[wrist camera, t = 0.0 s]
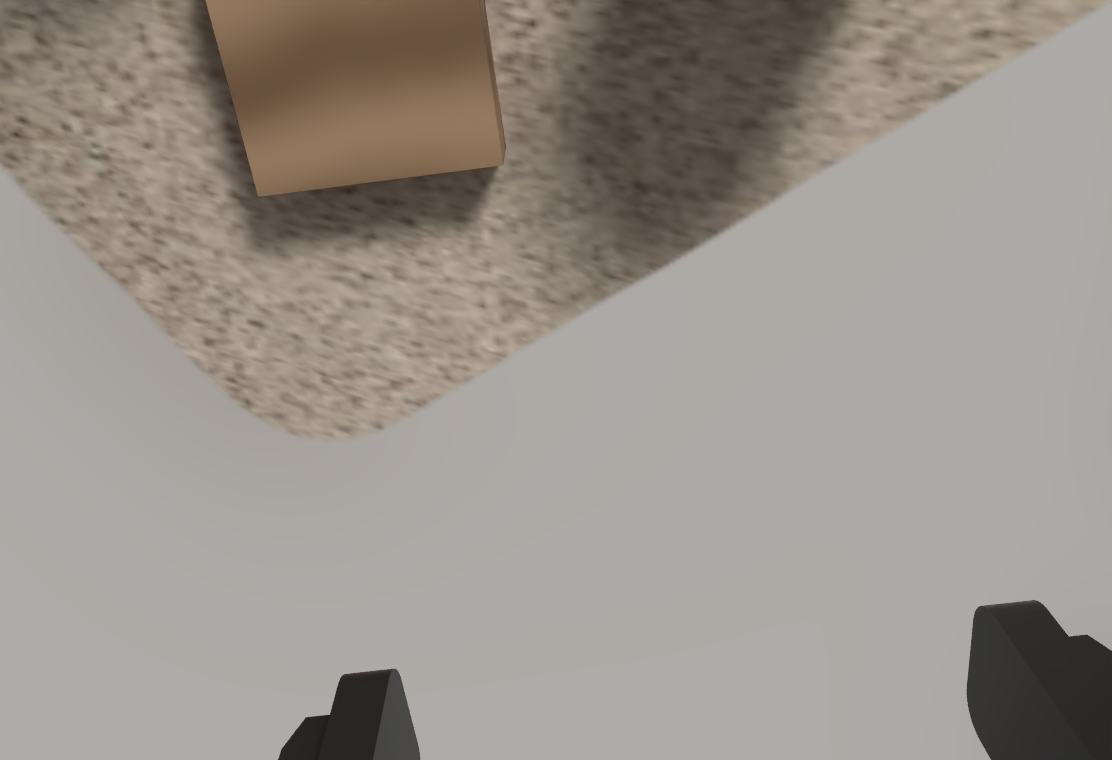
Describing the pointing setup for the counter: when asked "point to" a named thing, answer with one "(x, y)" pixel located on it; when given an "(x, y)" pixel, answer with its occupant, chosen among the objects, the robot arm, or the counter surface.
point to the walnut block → (359, 89)
